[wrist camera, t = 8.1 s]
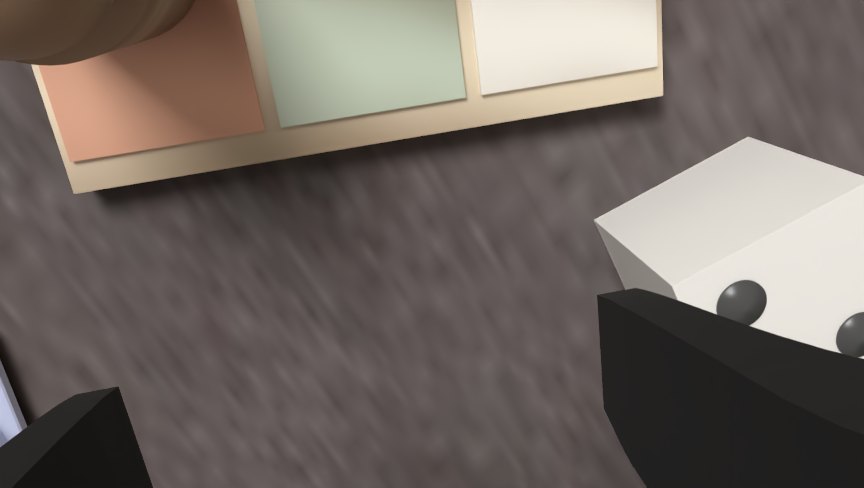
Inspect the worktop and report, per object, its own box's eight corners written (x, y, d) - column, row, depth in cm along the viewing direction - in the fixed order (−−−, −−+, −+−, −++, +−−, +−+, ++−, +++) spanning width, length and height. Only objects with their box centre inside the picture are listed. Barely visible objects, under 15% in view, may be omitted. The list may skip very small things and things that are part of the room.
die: (793, 274, 22) (920, 350, 18) (652, 349, 22) (740, 445, 18) (746, 136, 20) (874, 179, 16) (592, 219, 21) (673, 287, 16)
